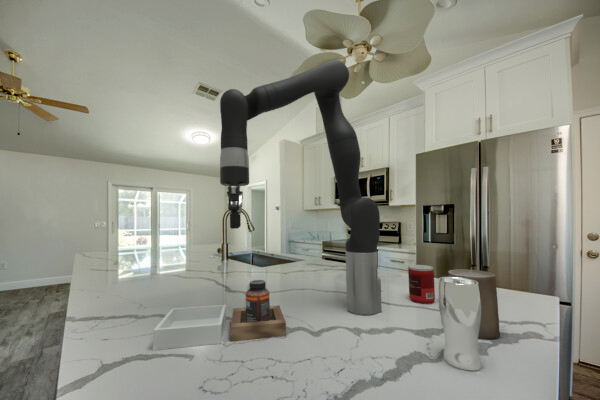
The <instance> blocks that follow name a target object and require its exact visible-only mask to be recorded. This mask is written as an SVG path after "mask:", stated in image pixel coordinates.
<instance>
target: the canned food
mask: <svg viewBox="0 0 600 400" xmlns="http://www.w3.org/2000/svg"><path fill="white" fill-rule="evenodd" d="M407 269H408V270H407V271H408V273H407V275H408V290H409V291H408V294H409V296H408V297H409V300H410V301H411V302H412V303H416V304H421V305H432V304H434V303H435V301H436V294H435V291H436V290H435V270H434V267H433V266H431V265H427V264H426V265H425V264H424V265H423V264H410V265H408V267H407Z"/></svg>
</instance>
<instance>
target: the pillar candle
mask: <svg viewBox="0 0 600 400" xmlns="http://www.w3.org/2000/svg"><path fill="white" fill-rule="evenodd" d="M448 277H460V278H467V279H472V280H475V281H477V282H478V286H479V292H480V299H481V322H480V329H479V335H478V339H481V340H483V339H484V340H492V339H499V338H500V337H501V333H500V318H499V303H498V291H497V279H496V274H494V273H493V272H490V271H485V270H479V269H478V270H477V269H473V267H470V269H463V268H462V269H457V268H456V269H451V270H448Z"/></svg>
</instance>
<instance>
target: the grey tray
mask: <svg viewBox="0 0 600 400" xmlns="http://www.w3.org/2000/svg"><path fill="white" fill-rule="evenodd" d="M226 321H227V304H220V305H219V304H218V305H216V304H215V305H202V306H191V307H190V306H189V307H174V308H171V309H170V310H169V311H168V313H166V315H165V316H164V317H163V318H162V319H161V321H160V322H159V323H158V324H157V326H156V327H155V328H154V329H153V330H152V331H153V333H152V351H158V350H166V349H167V350H169V349H176V348H177V349H179V348H190V347H197V346H198V347H200V346H210V345H218V344H219V345H220V344H222V340H223V336H224V331H225V325H226Z"/></svg>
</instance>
